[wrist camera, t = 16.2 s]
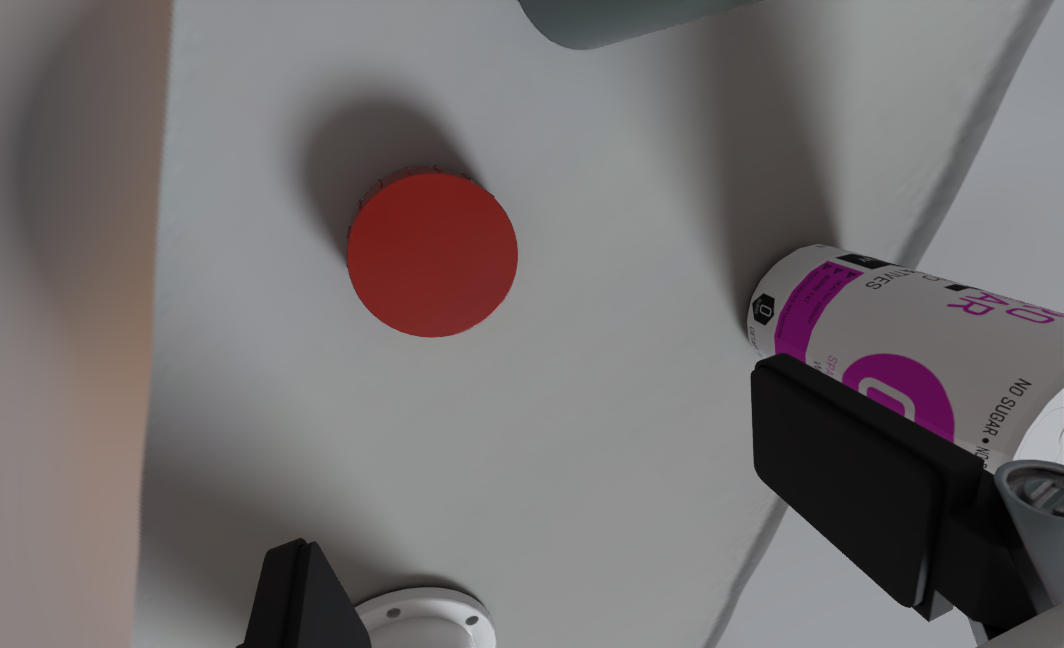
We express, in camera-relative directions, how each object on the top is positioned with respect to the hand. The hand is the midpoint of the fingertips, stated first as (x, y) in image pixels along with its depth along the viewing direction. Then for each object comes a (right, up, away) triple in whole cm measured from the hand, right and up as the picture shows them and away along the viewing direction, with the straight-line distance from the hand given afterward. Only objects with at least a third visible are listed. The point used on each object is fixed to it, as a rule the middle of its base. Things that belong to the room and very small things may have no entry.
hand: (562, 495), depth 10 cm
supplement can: (+16, +5, +23) cm, 29 cm away
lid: (-5, +7, +12) cm, 15 cm away
